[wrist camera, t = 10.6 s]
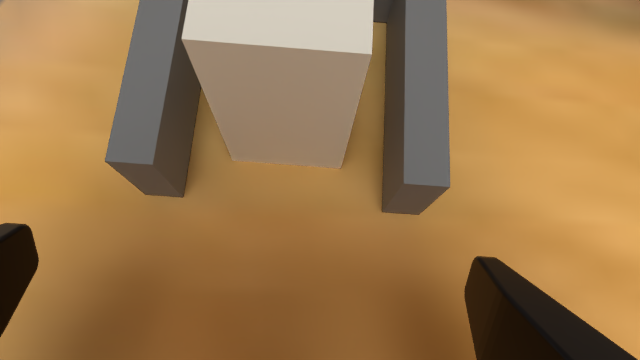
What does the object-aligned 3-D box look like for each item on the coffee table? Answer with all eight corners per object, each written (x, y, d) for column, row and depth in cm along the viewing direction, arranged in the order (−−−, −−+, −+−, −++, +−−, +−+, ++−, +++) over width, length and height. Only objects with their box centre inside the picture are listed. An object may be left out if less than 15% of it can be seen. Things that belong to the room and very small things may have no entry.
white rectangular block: (340, 168, 19) (371, 53, 11) (232, 160, 19) (181, 39, 11) (346, 72, 20) (377, -93, 12) (244, 64, 20) (207, -108, 12)
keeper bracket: (418, 214, 18) (450, 187, 15) (145, 194, 18) (104, 161, 14) (418, -2, 22) (444, -72, 18) (185, -22, 21) (160, -97, 17)
